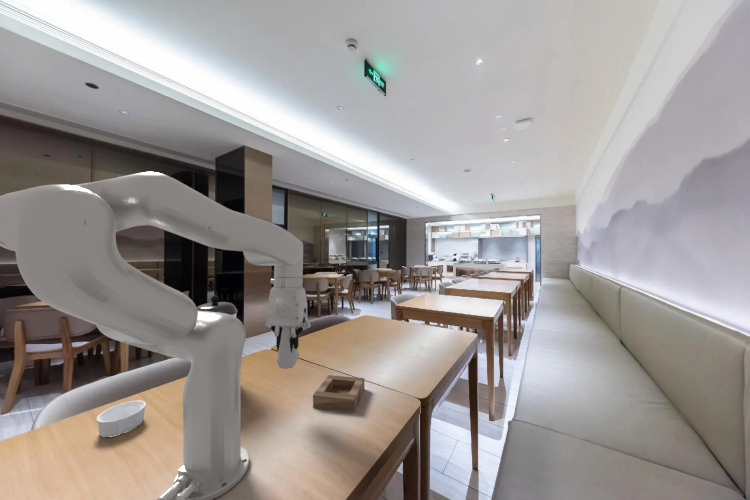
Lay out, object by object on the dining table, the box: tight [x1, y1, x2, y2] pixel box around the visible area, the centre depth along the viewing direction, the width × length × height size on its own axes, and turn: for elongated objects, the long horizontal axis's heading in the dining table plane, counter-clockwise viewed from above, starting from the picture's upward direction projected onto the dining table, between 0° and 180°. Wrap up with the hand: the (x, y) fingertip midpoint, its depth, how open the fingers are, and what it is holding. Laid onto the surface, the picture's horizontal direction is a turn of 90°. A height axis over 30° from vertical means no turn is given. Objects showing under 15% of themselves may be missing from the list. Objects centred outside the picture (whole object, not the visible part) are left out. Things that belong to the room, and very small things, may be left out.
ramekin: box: [96, 399, 147, 438], centre depth 65 cm, size 9×9×4 cm
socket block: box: [312, 374, 365, 413], centre depth 77 cm, size 12×12×4 cm
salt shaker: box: [275, 326, 300, 370], centre depth 71 cm, size 6×6×13 cm
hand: (287, 349), depth 71 cm, fingers closed on salt shaker, 3 cm apart
